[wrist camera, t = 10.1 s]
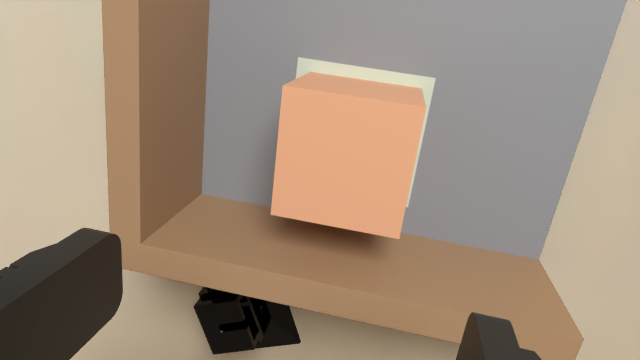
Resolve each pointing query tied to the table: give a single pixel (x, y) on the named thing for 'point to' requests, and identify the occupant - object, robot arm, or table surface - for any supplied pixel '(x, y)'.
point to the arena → (429, 170)
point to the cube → (347, 152)
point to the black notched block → (243, 322)
